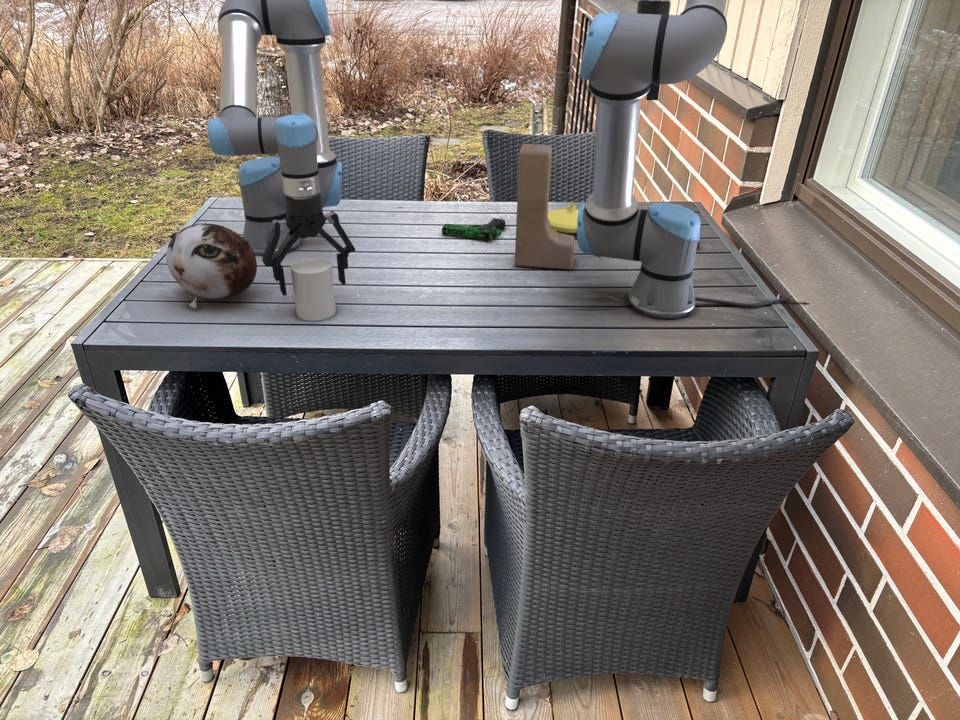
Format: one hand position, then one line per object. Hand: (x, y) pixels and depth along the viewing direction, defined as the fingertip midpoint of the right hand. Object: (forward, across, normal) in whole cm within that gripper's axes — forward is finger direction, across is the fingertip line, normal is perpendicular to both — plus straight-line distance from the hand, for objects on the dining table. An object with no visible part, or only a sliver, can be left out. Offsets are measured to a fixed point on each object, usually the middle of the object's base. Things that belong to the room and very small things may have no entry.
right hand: (642, 94), depth 178 cm
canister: (+41, +31, -82) cm, 97 cm away
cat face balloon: (+41, +21, -106) cm, 115 cm away
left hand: (+35, +31, -82) cm, 94 cm away
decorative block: (+41, +9, -24) cm, 48 cm away
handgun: (+41, -16, -39) cm, 59 cm away
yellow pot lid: (+41, -16, -12) cm, 45 cm away
